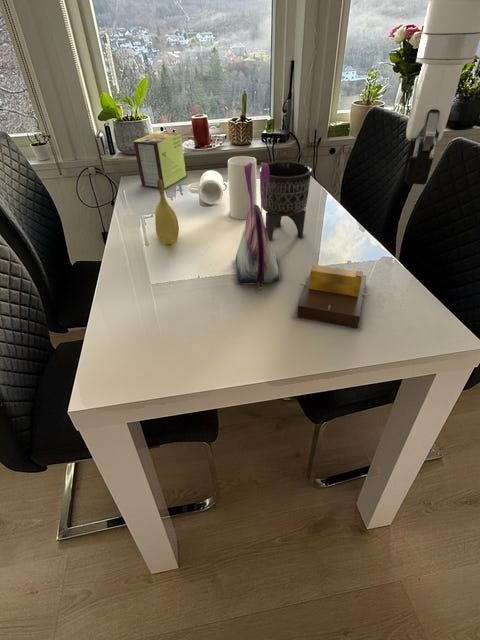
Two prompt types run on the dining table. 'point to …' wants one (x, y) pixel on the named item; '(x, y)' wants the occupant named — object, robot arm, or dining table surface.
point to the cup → (241, 186)
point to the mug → (209, 187)
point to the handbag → (256, 241)
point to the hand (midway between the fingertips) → (414, 173)
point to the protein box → (160, 158)
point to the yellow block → (335, 280)
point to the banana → (165, 219)
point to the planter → (286, 194)
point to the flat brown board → (331, 306)
